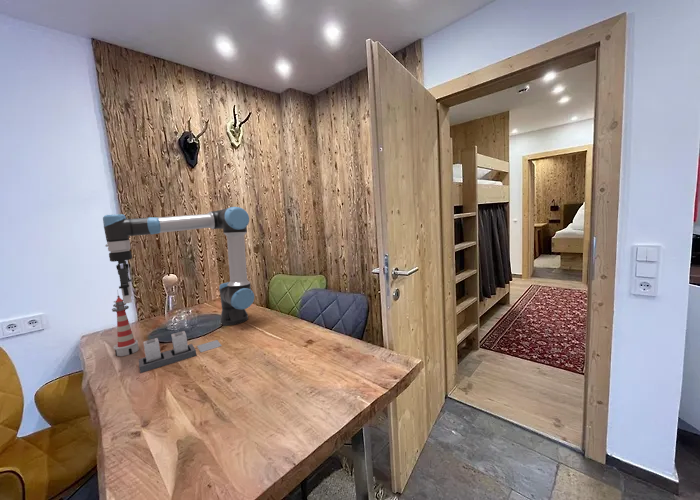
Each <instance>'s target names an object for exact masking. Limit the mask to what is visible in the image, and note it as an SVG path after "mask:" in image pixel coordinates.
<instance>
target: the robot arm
mask: <svg viewBox="0 0 700 500" xmlns="http://www.w3.org/2000/svg"><path fill="white" fill-rule="evenodd" d="M102 223H103V229H104V235H105V241H106V244H105V246H104V247H106V248H107V251H108V252H109V253H108V257H109V262H117V265H115V267H116V270H117V274H118V277H119V282H120V283H119V284H120V285H119V286H118V290H119V289H120V290H121V295H122V300H123V302H124V304H126V305H127V304H131V303H133V299H132V297H133V293H132V287H131V282H132V279H131V278H130V276H129V271H130V270H129V264H128V263H127V261H128V260H132V259H133V256H132V251H131V248H132V247H131V241H130V239H129V237H134V236H148V235H152V236H153V235H156V234H160V233H171V232H179V231H180V232H181V231H190V230H191V231H192V230H201V229H211V230H222V231H223V234H224V235H225V237H226V241H227V242H226V244H227V257H228V258H227V259H228V271H229V281H227V282H223V283H220V284H219V297H220V304H221V314H220V317H219V318H220V319H219V324H220V323H222V324H223V325H222V326H234V325H238V324H242V323H244V322H246V321H248V320H249V314H248V312H247V310H246V309H248V308H249V307H251V305H253V303H254V301H255V293H254V291H253V290H252V285H251V281H249V280H248V274H247V273H248V272H247V271H248V270H247V258H246V257H247V255H246V245H245V244H246V243H245V242H246V241H245V235H246V234H247V232H248V226H249V223H250V216H249V214H248V212H247V211H246V210H245V209H244V208H242V207H240V206H239V207H238V206H230V207H226V208H222V209H218V210H213V211H208V213H201V214H199V213H198V214H187V215H185V214H184V215H175V216H158V217H156V216H155V217H151V216H150V217H149V216H148V217H137V218H126V215H125V214H121V213H120V214H117V213H116V214H106V215H104V216H102Z"/></svg>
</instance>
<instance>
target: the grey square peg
mask: <svg viewBox="0 0 700 500" xmlns="http://www.w3.org/2000/svg"><path fill="white" fill-rule="evenodd" d="M171 341H172V349H174V356H175V355H178V354H182V353H185V352H188V345H189V344H188V337H187V333H186V331H185V330H182V331H179V332H175V333H171Z"/></svg>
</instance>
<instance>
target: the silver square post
mask: <svg viewBox="0 0 700 500" xmlns="http://www.w3.org/2000/svg"><path fill="white" fill-rule="evenodd" d="M143 349H144V354H145V357H146V362H147V364H148V363H152V362H155V361H158V360H161V353H162V352H161V347H160V341H159V338H158V337H156V338H151V339H148V340H145V341H143Z"/></svg>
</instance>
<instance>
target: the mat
mask: <svg viewBox="0 0 700 500" xmlns="http://www.w3.org/2000/svg"><path fill="white" fill-rule="evenodd" d="M220 347H223V345H222V344H221V343H220V342H219V340H218V339H215V340H211V341H209V342H206V343H201V344H198V345H196V348H197V349H198V351H199V353H204V352H207V351H211V350H213V349H214V350H215V349H217V348H220Z"/></svg>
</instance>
